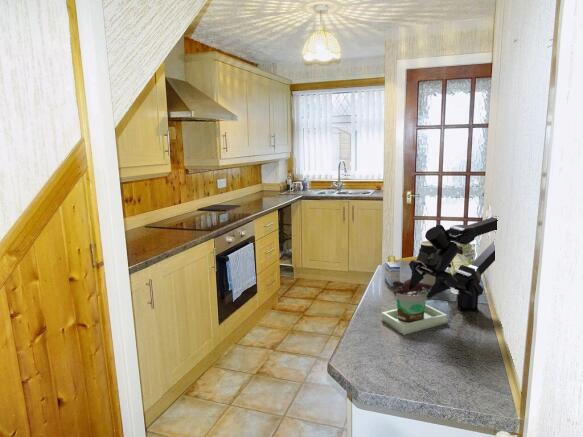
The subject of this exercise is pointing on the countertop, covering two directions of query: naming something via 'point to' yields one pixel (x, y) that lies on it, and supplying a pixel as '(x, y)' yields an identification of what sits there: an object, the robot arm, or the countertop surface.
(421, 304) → the food container
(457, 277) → the robot arm
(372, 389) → the countertop surface
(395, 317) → the tray
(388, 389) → the countertop surface
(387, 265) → the medicine box
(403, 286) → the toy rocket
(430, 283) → the travel mug
